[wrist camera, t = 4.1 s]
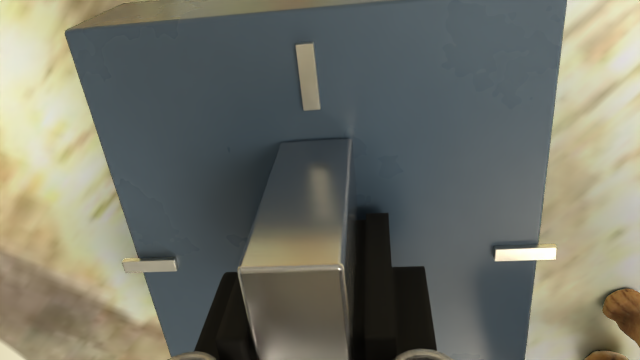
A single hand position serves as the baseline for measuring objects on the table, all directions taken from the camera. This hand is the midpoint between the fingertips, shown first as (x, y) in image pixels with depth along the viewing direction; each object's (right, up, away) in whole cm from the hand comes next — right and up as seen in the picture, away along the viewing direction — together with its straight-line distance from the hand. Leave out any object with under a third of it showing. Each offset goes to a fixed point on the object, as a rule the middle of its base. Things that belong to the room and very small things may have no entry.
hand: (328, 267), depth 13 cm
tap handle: (0, 0, 0) cm, 0 cm away
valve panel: (0, +2, +3) cm, 3 cm away
